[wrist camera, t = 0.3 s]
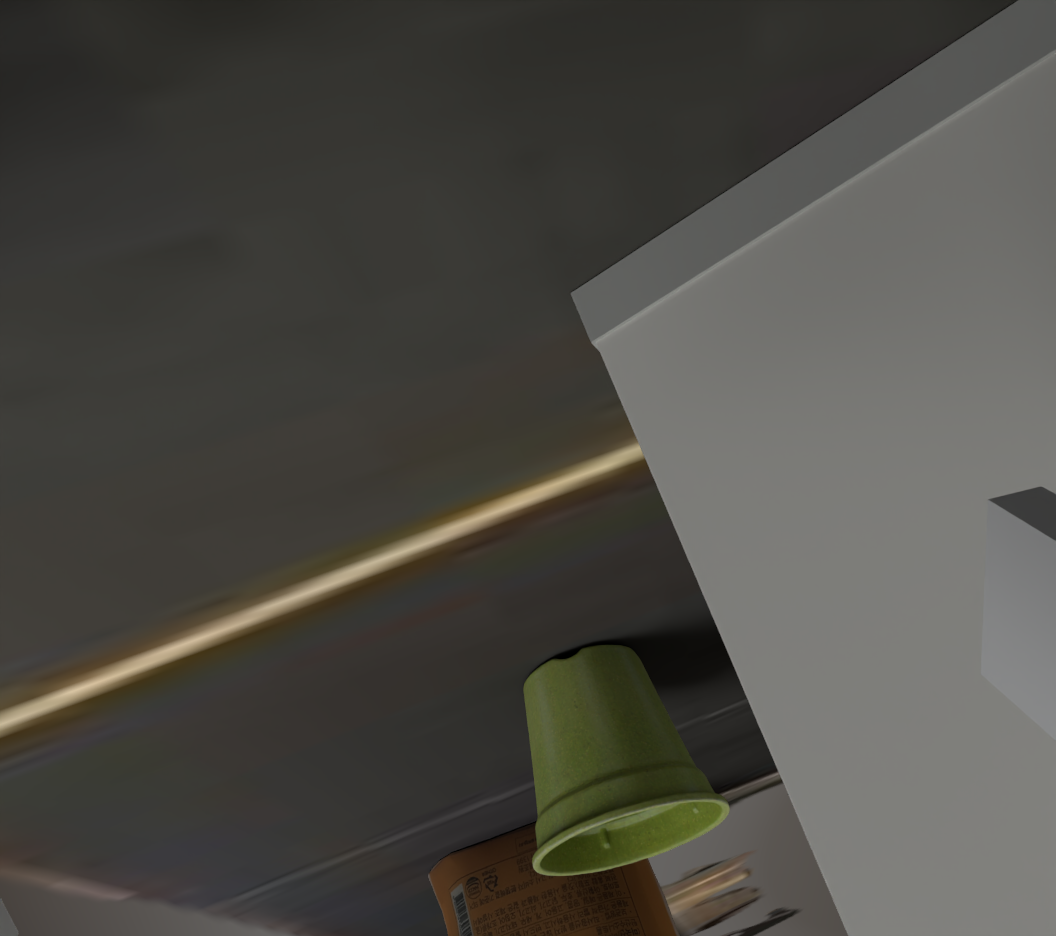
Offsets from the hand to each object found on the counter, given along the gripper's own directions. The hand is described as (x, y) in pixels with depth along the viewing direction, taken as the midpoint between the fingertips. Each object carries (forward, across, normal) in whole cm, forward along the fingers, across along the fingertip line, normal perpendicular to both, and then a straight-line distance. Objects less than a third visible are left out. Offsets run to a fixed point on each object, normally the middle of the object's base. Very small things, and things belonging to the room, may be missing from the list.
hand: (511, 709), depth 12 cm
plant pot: (+30, +5, -21) cm, 37 cm away
